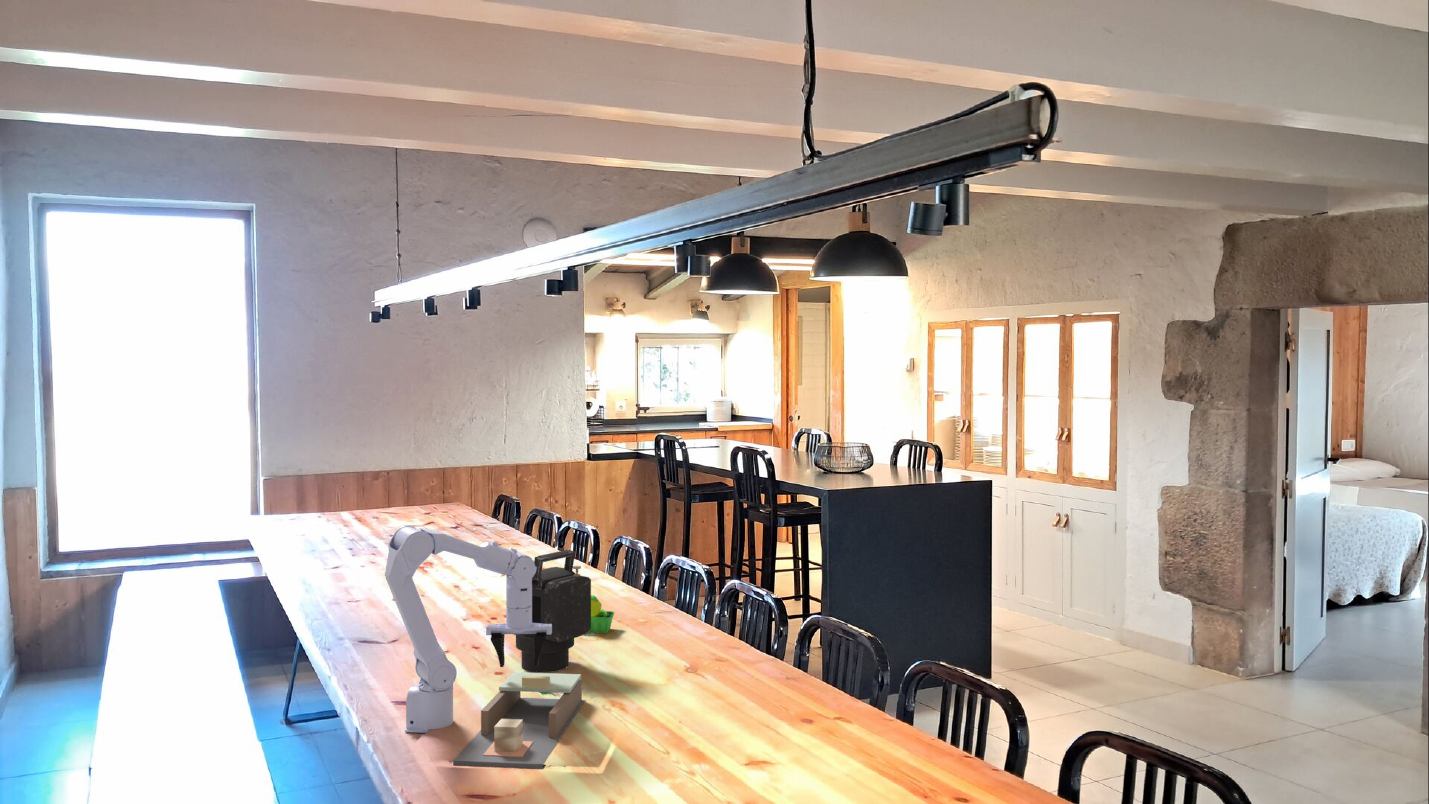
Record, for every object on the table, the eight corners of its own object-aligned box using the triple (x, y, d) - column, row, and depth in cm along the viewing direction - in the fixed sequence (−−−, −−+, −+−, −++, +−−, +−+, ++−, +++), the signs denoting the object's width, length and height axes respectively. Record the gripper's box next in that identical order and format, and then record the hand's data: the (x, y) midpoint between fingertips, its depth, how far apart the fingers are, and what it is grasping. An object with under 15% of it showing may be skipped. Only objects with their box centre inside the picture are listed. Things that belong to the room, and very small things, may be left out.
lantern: (545, 654, 275) (544, 544, 274) (594, 665, 264) (594, 551, 263) (503, 667, 262) (503, 552, 261) (553, 680, 252) (553, 560, 251)
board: (453, 765, 198) (453, 734, 198) (510, 701, 236) (509, 675, 236) (543, 769, 196) (543, 738, 196) (585, 704, 234) (585, 678, 234)
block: (494, 751, 202) (494, 726, 202) (501, 742, 207) (501, 718, 207) (516, 752, 202) (516, 727, 202) (522, 743, 206) (522, 719, 206)
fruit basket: (615, 627, 303) (615, 590, 302) (609, 635, 294) (609, 597, 294) (577, 626, 304) (577, 589, 303) (570, 634, 295) (570, 596, 295)
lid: (498, 690, 224) (498, 678, 224) (513, 675, 235) (513, 663, 235) (569, 693, 222) (569, 680, 222) (580, 677, 233) (580, 665, 233)
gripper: (483, 610, 224) (484, 671, 225) (549, 610, 225) (549, 670, 225) (489, 603, 231) (489, 662, 232) (552, 602, 232) (552, 661, 233)
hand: (519, 665), depth 229 cm, fingers open, 7 cm apart
